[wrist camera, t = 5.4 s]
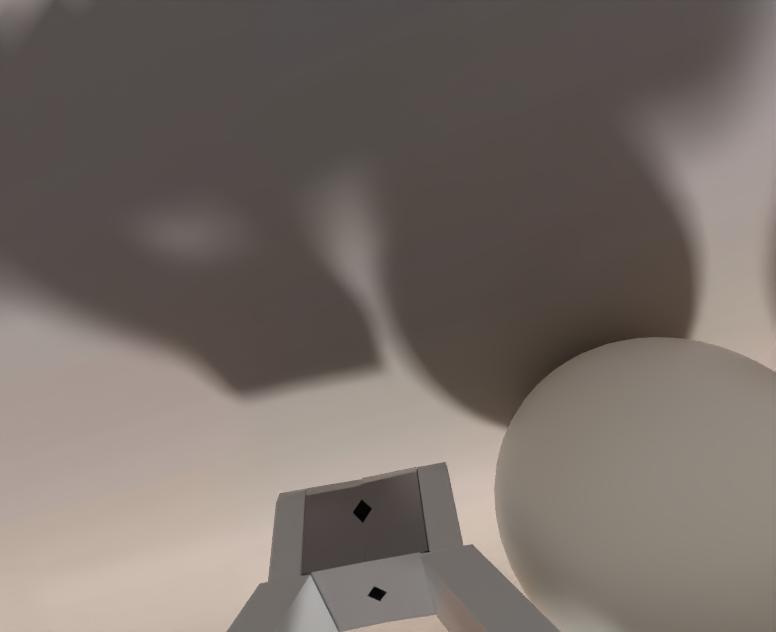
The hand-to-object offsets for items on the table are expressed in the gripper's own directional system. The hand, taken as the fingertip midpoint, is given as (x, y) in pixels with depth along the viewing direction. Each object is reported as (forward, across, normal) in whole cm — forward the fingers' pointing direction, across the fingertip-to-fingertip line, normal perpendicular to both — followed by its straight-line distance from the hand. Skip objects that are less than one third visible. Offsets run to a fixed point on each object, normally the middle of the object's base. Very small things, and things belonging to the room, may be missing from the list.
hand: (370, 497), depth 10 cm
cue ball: (-1, +5, 0) cm, 5 cm away
